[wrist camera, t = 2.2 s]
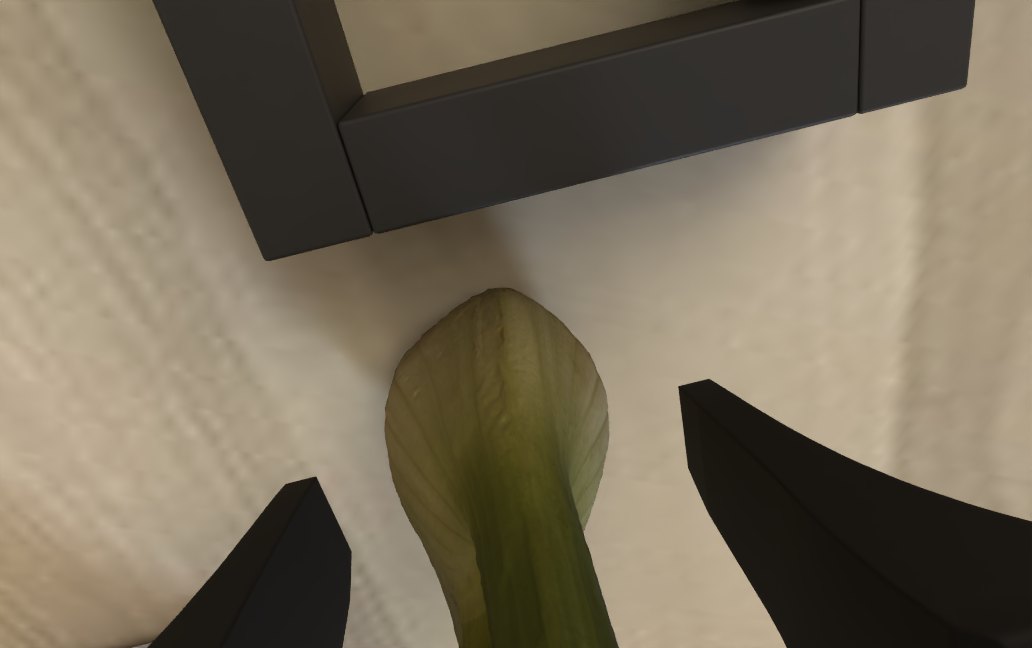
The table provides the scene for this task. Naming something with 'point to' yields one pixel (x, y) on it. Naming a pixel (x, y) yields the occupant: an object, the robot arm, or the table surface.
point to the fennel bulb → (504, 471)
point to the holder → (530, 103)
